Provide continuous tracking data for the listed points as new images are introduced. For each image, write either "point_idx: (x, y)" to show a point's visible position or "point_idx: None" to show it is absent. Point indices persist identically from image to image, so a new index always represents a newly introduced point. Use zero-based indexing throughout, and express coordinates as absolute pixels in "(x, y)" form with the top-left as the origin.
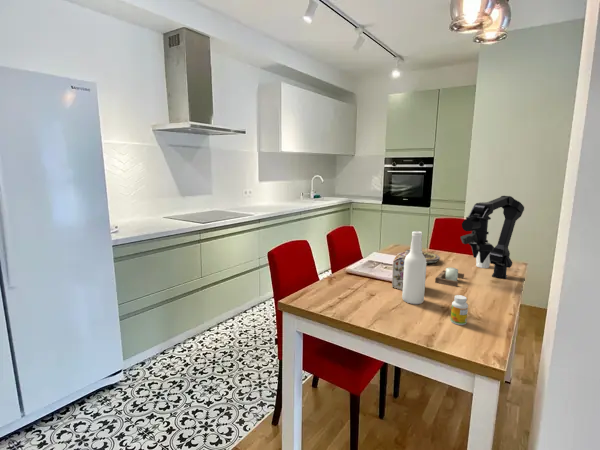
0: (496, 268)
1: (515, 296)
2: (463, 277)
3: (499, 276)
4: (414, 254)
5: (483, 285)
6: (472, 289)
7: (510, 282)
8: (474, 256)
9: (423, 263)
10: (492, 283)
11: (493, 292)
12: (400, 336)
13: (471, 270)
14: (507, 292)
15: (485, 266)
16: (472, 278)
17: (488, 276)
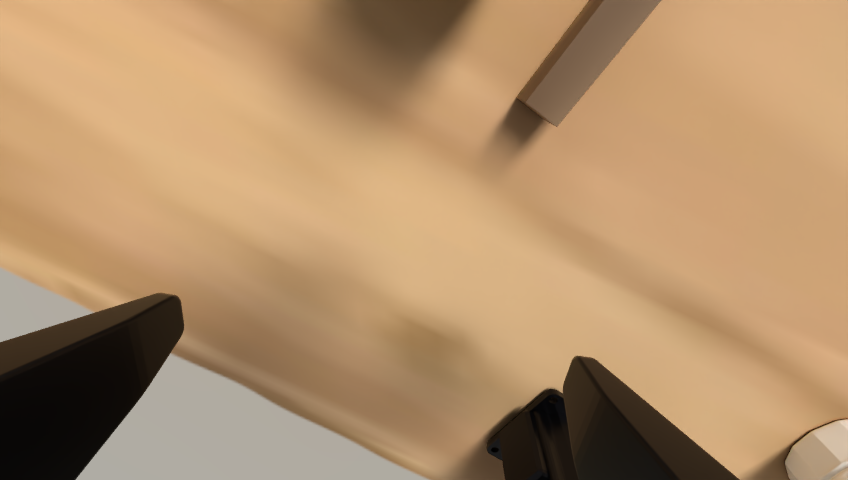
0: (551, 478)
1: None
2: (531, 109)
3: (508, 428)
4: None
5: (314, 211)
6: (162, 34)
7: (414, 434)
8: (578, 379)
9: None
10: (380, 310)
11: (138, 204)
12: None
13: (772, 319)
14: None
15: (802, 465)
16: (522, 208)
17: (566, 369)
